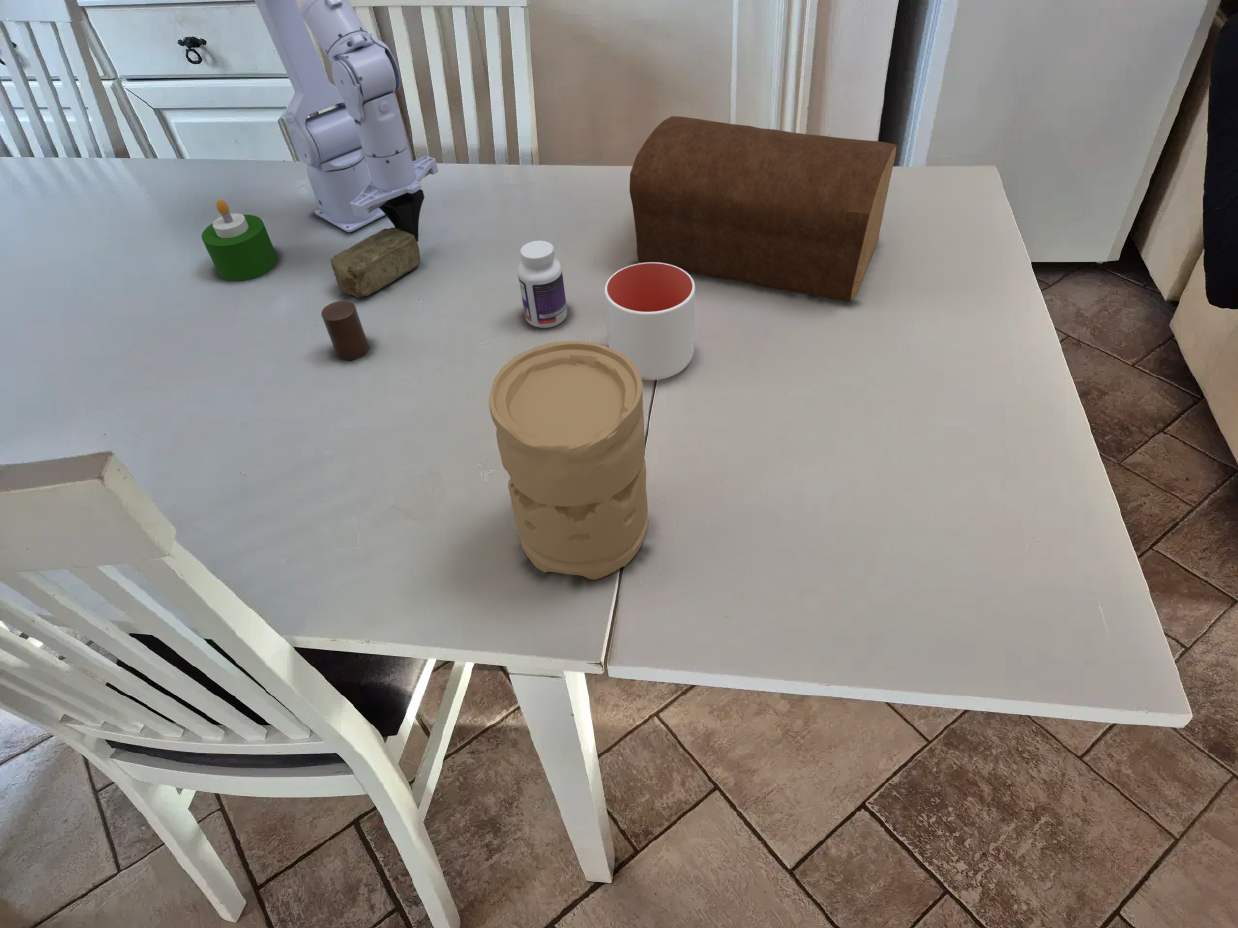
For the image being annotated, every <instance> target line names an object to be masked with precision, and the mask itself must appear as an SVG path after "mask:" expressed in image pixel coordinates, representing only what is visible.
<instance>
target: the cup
mask: <svg viewBox="0 0 1238 928" xmlns="http://www.w3.org/2000/svg"><path fill="white" fill-rule="evenodd" d="M603 290H604V303H605V315H606V316H605V317H606V330H607V341H608V342H607V343H608V348H610V349H613V350H615V351H617V352H619V353H621V354H623V355H625V356H626V357H627V358H628V359H629V360H631V361H632V362H633V364H634V365H635V366H636V368H637V369H638V371H639V374H640V376H641V381H658V380H659V381H660V380H664V379H668V378H671V377H673V376H675V375H677V374H679V373H680V372H682V371H683V370H684V369H685V368H686V367H688V365H689V364H690V363H691V361H692V360H693V356H694V352H695V326H696V325H695V323H696V321H695V320H696V319H695V318H696V317H695V316H696V283H695V280H694V279H693V277H692V275H690V274H689V272H687V271H684V270H682V269H681V268H678V267H676V266H673V265H670V264H665V263H656V262H648V263H641V262H638V263H635V264H631V265H628V266H625V267H623V268H621V269H619V270H617V271H615V273H613V274H612V275H611V276H609V278H608V279H607V281H606V282H605V284H604V289H603Z"/></svg>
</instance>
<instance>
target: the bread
mask: <svg viewBox="0 0 1238 928" xmlns="http://www.w3.org/2000/svg"><path fill="white" fill-rule="evenodd" d="M896 155H897V144H896V143H890V142H886V141H885V142H884V141H878V140H867V139H857V138H856V139H855V138H847V137H837V136H836V137H835V136H830V135H829V136H828V135H818V134H808V133H800V132H791V131H786V130H781V129H774V128H772V129H771V128H763V127H756V126H751V125H745V124H737V123H727V122H722V121H715V120H708V119H703V118H701V119H700V118H696V117H688V116H679V115H678V116H677V115H671V116H669V117H667V118H666V119H663V120H662V121H661V123H659V124H658V125H657V126H656V127H655V128H654V130H653V131H652V132H651V133H650V134H649V135H648V137H647V138H646V139H645V141H644V143H643V144H642V146H641V148H640V149H639V151H638V152H637V154H636V156H635V158H634V161H633V164H632V167H631V170H630V172H629V196H630V200H631V205H632V213H633V220H634V222H633V223H634V229H635V230H634V231H635V241H636V258H637V262H638V263H648V262H656V263H665V264H670V265H673V266H676V267H678V268H681V269H682V270H684V271H686V272H687V273H693V274H697V275H702V276H706V277H711V278H716V279H724V280H728V281H734V282H741V283H745V284H749V285H754V286H759V287H763V288H768V289H774V290H778V291H779V290H780V291H788V292H793V293H798V294H803V295H804V294H805V295H809V296H814V297H819V298H825V299H829V300H838V301H843V302H851V301H852V300H853V299H854V298H855V297H856V296H857V295H858V293H859V290H860V288H861V285H862V283H863V279H864V277H865V275H866V272H867V269H868V267H869V264H870V262H871V259H872V256H873V254H874V252H875V249H876V248H877V244H878V242H879V239H880V233H881V228H882V222H883V218H884V213H885V207H886V203H887V197H888V192H889V186H890V182H891V177H892V173H893V168H894V163H895V159H896Z"/></svg>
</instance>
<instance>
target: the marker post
mask: <svg viewBox="0 0 1238 928" xmlns="http://www.w3.org/2000/svg"><path fill="white" fill-rule="evenodd" d="M320 316H321V318H322V320H323V323H324V326H325V329H326V331H327V334H328V336H329V339H330V341H331V344H332V347H333V349H334V352H335V354H336V356H337V357H338V359H340V360H343V361H355V360H357V359H360V358H362V357H364V356H365V355H366V354H367V353H368V351H369V350H370V345H369V342H368V340H367V339H368V338H367V336H366V334H365V331H364V328H363V325H362V322H361V319H360V316H359V313H358V310H357V307H356V305H355V304H354V303H353V302H352V301H348V300H338V301H333V302H331V303H329V304H327V305H326V306H325V307H323V308H322V310H321V313H320Z"/></svg>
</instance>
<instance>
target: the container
mask: <svg viewBox="0 0 1238 928" xmlns="http://www.w3.org/2000/svg"><path fill="white" fill-rule="evenodd" d="M642 381H643V380H642V379H641V376H640V374H639V371H638V369H637V368H636V366H635V365H634V364H633V362H632V361H631V360H629V359H628V358H627V357H626V356H625V355H623V354H621V353H619V352H617V351H615V350H613V349H610V348H609V346H606V345H604V344H601V343H598V342H597V343H596V342H591V341H583V340H582V341H581V340H565V341H556V342H551V343H550V342H549V343H545V344H542V345H538V346H535V347H532V348H530V349H528V350H525V351H523V352H522V353H519V354H517V355H516V356H514V357H513V358H511V359H510V360H509V361H508V362H507V363H506V364H504V365H503V366H502V367H501V368H500V370H498V372H497V374H496V375H495V377H494V378H493V381H492V385H491V389H490V393H489V396H488V408H489V412H490V417H491V419H492V422H493V424H494V426H495V428H496V429H495V430H496V431H495V436H496V441H497V447H498V451H499V457H500V461H501V464H502V467H503V469H504V470H505V471H506V472H507V474H508V476H509V478H510V479H509V480H508V482H507V488H508V492H509V496H510V501H511V508H512V512H513V517H514V521H515V526H516V529H517V532H518V534H519V535H518V536H519V541H520V543H521V547H522V549H523V551H524V554H525V555H526V556H527V558H528V559H529V561H530V562H531V564H532V565H533V566H534V567H535V568H536V569H537V570H540V571H541V572H543V573H549V572H550V573H557V574H558V573H559V574H563V575H573V576H580V577H581V576H582V577H584V578H586V579H588V580H595V581H596V580H599V579H602V578H605V577H606V576H609V575H611V574H613V573H615V572H617V571H618V570H619V569H621V568H623V567H626V566H627V565H628V564H629V563H630V561H632V560H633V558H634V557H635V556H636V554H637V553H638V552H639V549H641V547H642V544H643V541H644V540H645V538H646V535H647V533H648V529H649V507H648V495H647V466H646V458H645V456H646V440H645V439H646V438H645V417H644V415H645V414H644V399H643V398H644V395H643V382H642Z"/></svg>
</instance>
